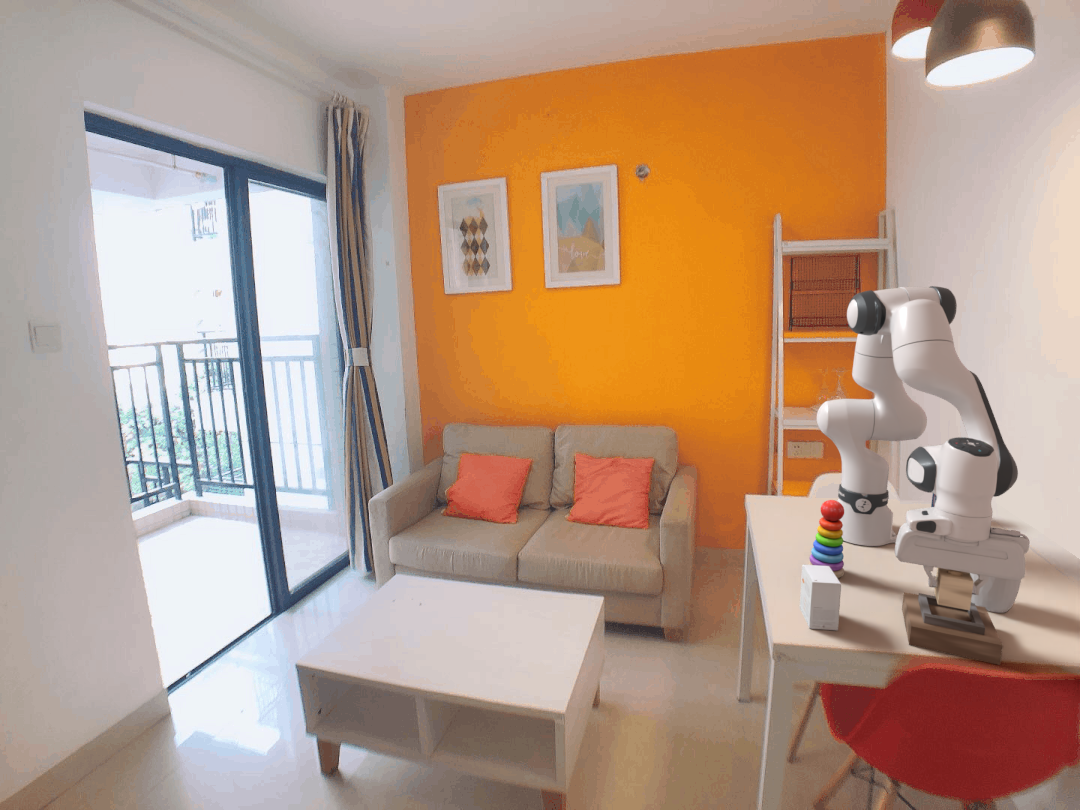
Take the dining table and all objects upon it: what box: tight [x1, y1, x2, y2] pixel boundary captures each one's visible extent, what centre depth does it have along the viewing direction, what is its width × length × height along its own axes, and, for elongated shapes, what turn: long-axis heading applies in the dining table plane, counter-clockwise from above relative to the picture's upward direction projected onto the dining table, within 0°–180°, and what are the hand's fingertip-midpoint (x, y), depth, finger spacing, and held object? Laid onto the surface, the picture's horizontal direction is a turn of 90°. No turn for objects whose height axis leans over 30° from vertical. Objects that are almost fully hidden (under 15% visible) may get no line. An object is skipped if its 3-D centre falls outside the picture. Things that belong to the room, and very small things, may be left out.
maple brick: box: [933, 568, 974, 610], centre depth 109 cm, size 5×5×7 cm
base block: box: [901, 591, 1004, 666], centre depth 111 cm, size 14×14×6 cm
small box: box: [799, 564, 842, 631], centre depth 116 cm, size 8×6×10 cm
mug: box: [970, 573, 1022, 614], centre depth 121 cm, size 13×9×10 cm
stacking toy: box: [807, 499, 845, 579], centre depth 135 cm, size 8×8×19 cm
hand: (952, 589), depth 109 cm, fingers closed on maple brick, 5 cm apart
